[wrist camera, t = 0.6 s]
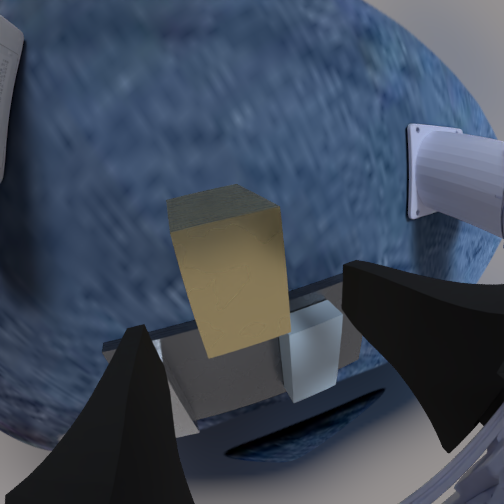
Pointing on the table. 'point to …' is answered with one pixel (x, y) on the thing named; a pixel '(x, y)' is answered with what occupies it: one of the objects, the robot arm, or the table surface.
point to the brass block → (232, 266)
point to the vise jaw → (311, 350)
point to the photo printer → (7, 78)
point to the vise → (234, 363)
